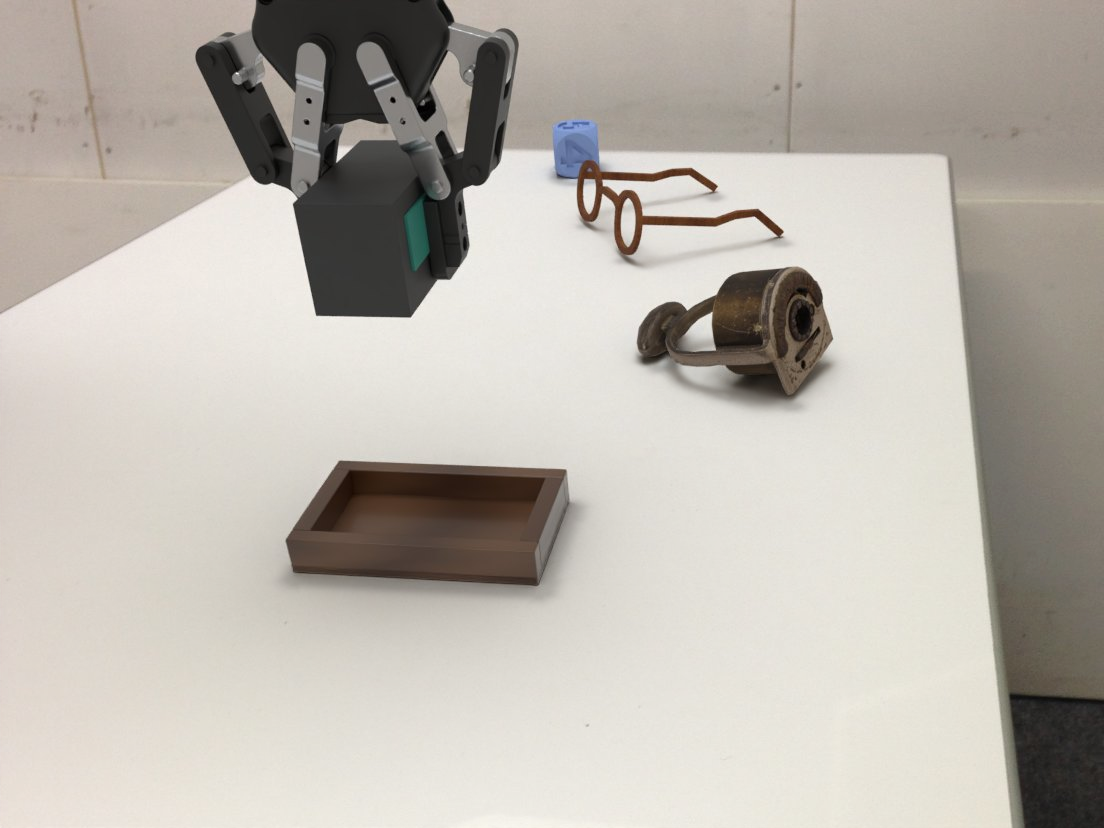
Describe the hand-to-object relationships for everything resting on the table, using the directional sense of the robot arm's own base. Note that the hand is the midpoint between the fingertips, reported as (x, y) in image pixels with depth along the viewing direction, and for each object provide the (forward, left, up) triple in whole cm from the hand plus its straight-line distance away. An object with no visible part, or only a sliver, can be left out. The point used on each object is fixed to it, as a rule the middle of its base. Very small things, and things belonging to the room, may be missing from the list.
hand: (394, 271), depth 60 cm
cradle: (0, 0, -15) cm, 15 cm away
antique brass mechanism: (+14, +22, -15) cm, 30 cm away
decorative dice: (-4, +61, -15) cm, 63 cm away
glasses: (+7, +47, -15) cm, 50 cm away
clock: (0, 0, 0) cm, 0 cm away
